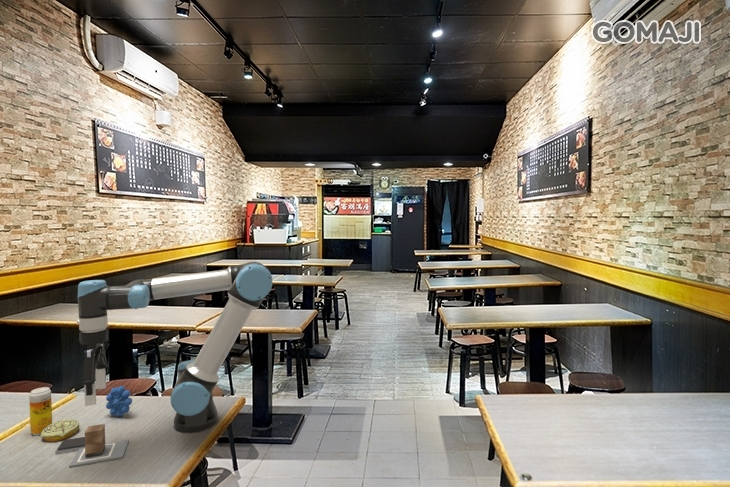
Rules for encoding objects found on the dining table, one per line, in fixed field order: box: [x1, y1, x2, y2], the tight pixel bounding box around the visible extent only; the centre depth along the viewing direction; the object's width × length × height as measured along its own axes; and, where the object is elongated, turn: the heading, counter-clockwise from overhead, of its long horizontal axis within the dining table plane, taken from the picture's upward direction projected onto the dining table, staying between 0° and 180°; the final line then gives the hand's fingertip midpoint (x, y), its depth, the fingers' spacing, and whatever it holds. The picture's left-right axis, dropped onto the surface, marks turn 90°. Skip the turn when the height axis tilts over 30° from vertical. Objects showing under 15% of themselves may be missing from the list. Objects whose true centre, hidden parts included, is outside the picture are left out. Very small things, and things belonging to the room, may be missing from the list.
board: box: [68, 439, 130, 468], centre depth 132 cm, size 14×11×1 cm
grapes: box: [105, 385, 133, 418], centre depth 159 cm, size 12×7×12 cm, turn 75°
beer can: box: [28, 386, 53, 436], centre depth 147 cm, size 6×6×15 cm
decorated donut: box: [40, 419, 80, 443], centre depth 145 cm, size 10×11×4 cm
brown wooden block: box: [84, 423, 106, 458], centre depth 132 cm, size 4×4×8 cm
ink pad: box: [54, 436, 85, 455], centre depth 137 cm, size 9×7×1 cm
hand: (96, 396), depth 131 cm, fingers open, 13 cm apart
